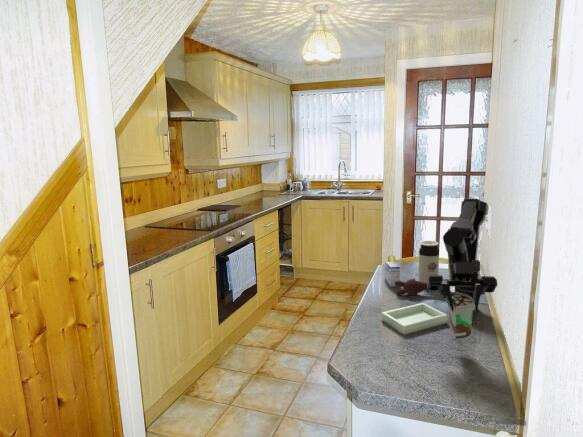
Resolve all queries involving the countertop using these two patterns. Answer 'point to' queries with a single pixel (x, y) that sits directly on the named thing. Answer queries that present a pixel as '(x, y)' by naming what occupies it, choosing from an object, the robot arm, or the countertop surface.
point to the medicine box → (392, 273)
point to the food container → (461, 314)
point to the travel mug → (428, 260)
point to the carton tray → (414, 318)
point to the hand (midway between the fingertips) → (464, 311)
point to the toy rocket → (411, 287)
